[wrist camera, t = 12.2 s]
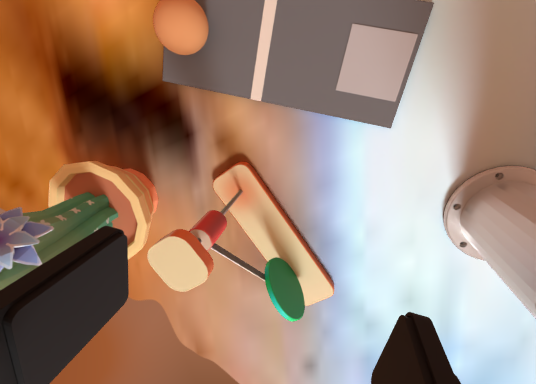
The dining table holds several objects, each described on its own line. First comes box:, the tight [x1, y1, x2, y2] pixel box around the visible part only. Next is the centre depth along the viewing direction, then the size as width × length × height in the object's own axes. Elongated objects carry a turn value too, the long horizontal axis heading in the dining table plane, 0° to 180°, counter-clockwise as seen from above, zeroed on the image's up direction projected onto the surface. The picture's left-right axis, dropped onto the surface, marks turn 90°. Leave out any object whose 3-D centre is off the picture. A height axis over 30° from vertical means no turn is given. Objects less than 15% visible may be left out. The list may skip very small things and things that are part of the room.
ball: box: [153, 0, 209, 55], centre depth 32 cm, size 6×6×6 cm
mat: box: [163, 0, 434, 128], centre depth 34 cm, size 30×13×1 cm, turn 80°
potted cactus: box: [0, 161, 158, 290], centre depth 35 cm, size 15×15×25 cm
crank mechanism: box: [148, 162, 334, 321], centre depth 35 cm, size 25×7×19 cm, turn 36°
